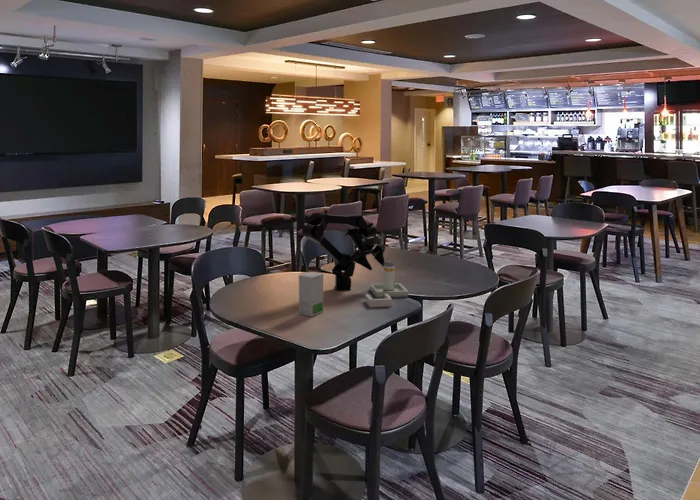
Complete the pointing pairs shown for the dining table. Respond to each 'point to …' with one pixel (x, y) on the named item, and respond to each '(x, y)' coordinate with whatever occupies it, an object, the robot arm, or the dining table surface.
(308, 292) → the skincare box
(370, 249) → the robot arm
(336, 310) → the dining table surface
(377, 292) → the tray
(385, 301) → the tray
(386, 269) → the white cylinder
